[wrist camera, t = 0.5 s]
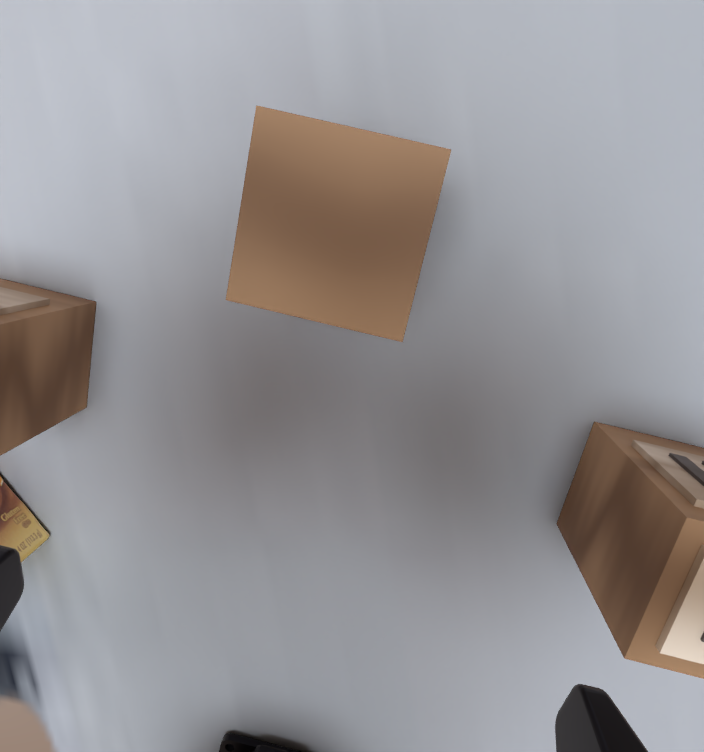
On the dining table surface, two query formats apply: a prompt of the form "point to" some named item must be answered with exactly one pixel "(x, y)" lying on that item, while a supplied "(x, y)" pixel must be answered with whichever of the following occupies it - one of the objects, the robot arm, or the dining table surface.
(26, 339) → the tile block
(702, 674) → the tile block
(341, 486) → the dining table surface
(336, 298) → the plain block
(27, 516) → the candy box
